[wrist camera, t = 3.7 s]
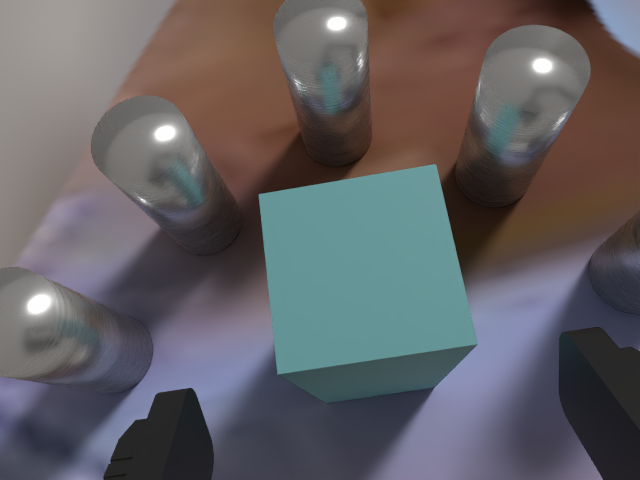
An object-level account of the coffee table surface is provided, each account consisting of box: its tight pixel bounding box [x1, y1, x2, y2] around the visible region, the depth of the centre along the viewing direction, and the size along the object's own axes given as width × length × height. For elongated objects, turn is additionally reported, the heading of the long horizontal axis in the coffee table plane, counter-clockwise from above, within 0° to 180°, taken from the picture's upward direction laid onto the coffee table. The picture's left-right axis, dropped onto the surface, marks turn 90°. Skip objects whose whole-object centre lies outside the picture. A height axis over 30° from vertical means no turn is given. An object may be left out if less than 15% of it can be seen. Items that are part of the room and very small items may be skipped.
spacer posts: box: [0, 0, 640, 394], centre depth 19 cm, size 23×11×7 cm, turn 98°
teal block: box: [259, 164, 478, 403], centre depth 16 cm, size 4×4×10 cm
